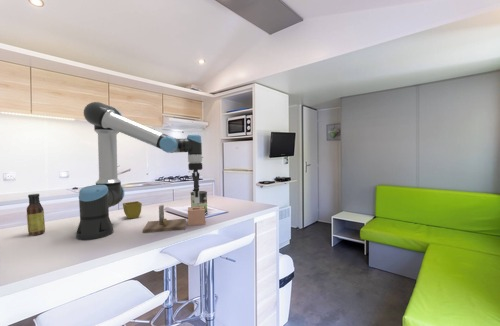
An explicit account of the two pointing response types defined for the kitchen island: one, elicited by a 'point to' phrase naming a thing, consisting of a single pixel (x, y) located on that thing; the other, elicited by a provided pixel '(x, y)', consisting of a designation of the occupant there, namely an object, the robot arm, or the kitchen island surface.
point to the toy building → (196, 216)
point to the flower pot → (132, 209)
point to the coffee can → (202, 200)
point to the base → (165, 228)
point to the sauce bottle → (35, 215)
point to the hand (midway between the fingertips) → (196, 200)
